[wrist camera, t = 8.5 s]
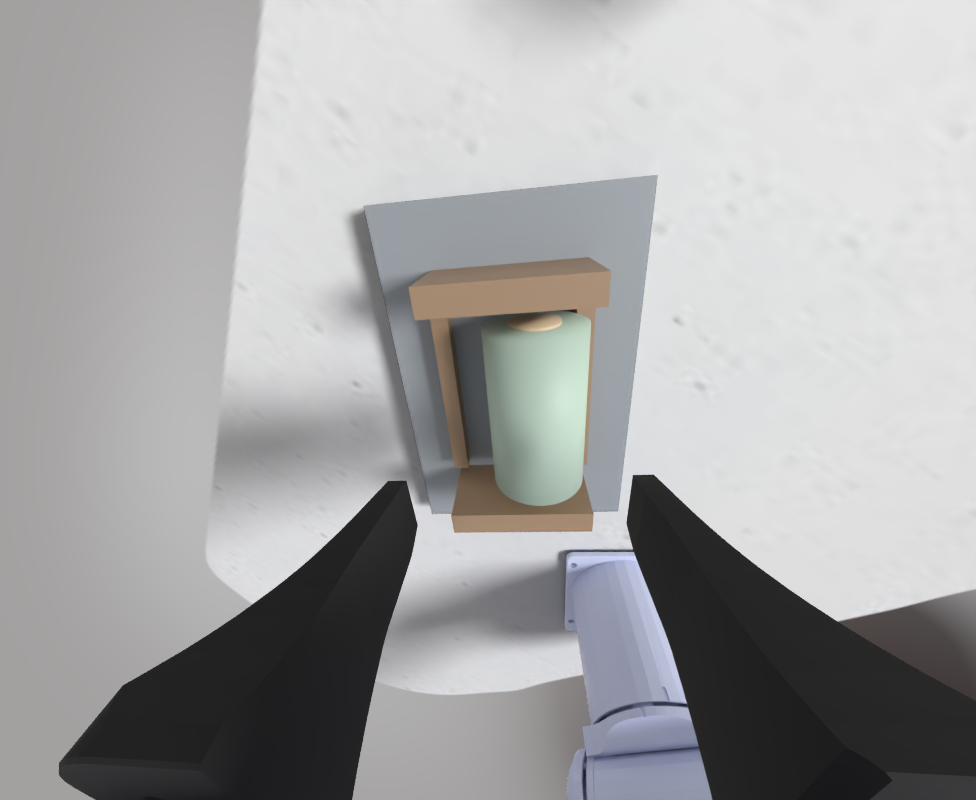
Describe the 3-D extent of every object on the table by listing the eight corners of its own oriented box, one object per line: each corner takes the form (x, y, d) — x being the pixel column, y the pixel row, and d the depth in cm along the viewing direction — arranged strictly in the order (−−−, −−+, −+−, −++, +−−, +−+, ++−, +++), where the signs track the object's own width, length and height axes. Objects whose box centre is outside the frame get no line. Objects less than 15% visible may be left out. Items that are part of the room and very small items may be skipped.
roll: (554, 442, 21) (600, 491, 17) (483, 463, 20) (515, 520, 16) (555, 301, 17) (615, 323, 13) (467, 317, 16) (504, 345, 12)
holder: (613, 497, 23) (637, 567, 19) (435, 500, 24) (417, 567, 20) (647, 177, 15) (707, 163, 10) (373, 205, 16) (317, 204, 11)
